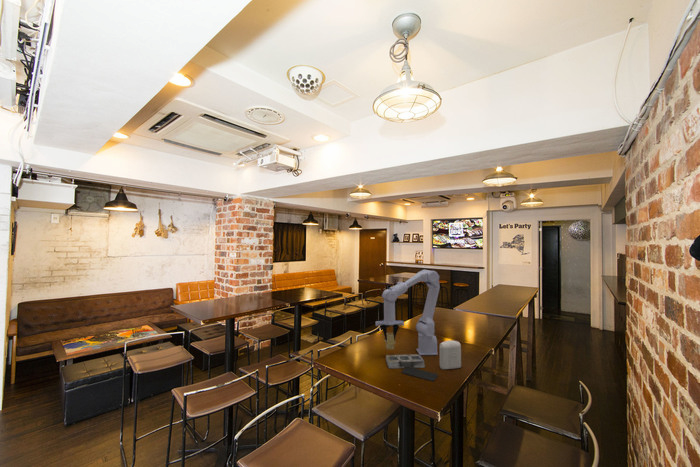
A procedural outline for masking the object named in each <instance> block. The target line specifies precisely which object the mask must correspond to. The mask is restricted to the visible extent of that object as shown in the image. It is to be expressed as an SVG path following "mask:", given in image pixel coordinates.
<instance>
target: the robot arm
mask: <svg viewBox="0 0 700 467" xmlns="http://www.w3.org/2000/svg"><path fill="white" fill-rule="evenodd" d="M419 282H423V283H425V284H426V285H427V287H428V291H427V294H426V298H425V299H426V300H425V303H424V307H423V312H422V316H421V317H419V319H418V321H417V323H416V325H415V330H416V331H417V334H418V338H417V339H418V340H417V341H418V343H417V344H418V348H416V351H417V353H418V354H420V356H438V355H439V354H438V339H437V336H436V335H435V325H436V324H435V321H434V314H435V311H436V306H437V302H438V297H439V293H440V288H441V286H440V275H439V274H438V272H437V271H435V270H428V269H422V270H420V271H418V272H417V273H415V275H413V276H412V277H410V278H408V279H407V280H406V281H404V282H403V281H398V282H396V284H395V285H393V286H390V287H389V288H387V289H384V291H383V292H382V294H381V298H382V299H383V320H378V321H377V320H376V321H375V327H378V326H379V327H381V329H382V332H383V335H384V339H385V340H387V333H388V328H387V326H392V333H393V334H394V340H396V336H397V334H398V331H399V329H400V327H399V326H405V322H404V321H403V320H396V301H397V298H398V297H399V296H401V295H403V294H405V293H406V292H407V291H408V289H409V288H410V287H412V286H414V285H415V284H418V283H419ZM385 340H384V341H385Z"/></svg>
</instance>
